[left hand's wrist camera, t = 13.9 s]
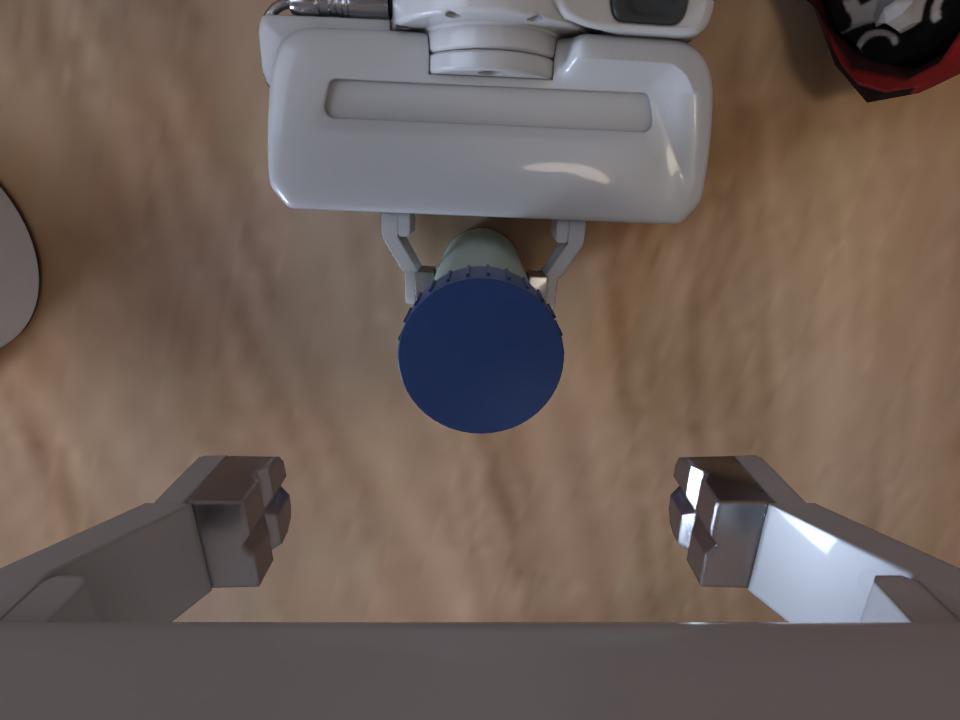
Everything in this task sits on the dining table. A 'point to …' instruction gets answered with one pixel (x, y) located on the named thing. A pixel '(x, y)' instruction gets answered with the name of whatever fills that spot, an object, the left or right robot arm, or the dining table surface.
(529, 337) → the lid
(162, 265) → the dining table surface
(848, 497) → the dining table surface
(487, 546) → the dining table surface
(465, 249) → the pale green cylinder
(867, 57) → the toy
